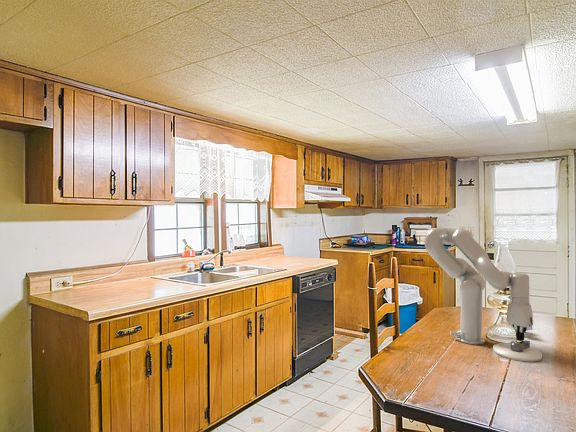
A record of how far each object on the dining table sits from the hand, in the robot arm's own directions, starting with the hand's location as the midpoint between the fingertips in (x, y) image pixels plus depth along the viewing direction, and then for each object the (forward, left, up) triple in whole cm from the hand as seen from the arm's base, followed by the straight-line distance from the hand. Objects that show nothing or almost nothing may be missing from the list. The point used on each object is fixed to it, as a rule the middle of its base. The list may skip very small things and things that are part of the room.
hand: (520, 340), depth 183 cm
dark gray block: (-2, -4, -3) cm, 5 cm away
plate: (-4, -5, -5) cm, 8 cm away
